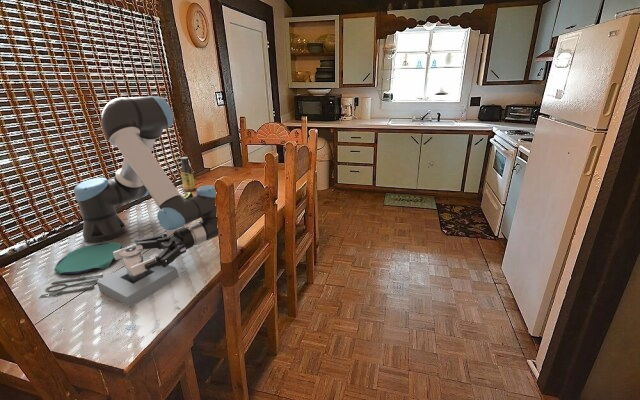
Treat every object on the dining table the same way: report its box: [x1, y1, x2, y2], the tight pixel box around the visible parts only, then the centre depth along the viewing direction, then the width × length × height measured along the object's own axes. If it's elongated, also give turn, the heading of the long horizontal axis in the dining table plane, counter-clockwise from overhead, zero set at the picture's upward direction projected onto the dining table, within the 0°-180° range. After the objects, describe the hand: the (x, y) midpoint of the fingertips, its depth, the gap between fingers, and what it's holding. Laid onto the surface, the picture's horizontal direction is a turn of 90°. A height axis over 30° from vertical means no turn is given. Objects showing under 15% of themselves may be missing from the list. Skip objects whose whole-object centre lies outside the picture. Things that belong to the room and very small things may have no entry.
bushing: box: [119, 244, 148, 284], centre depth 94 cm, size 6×6×12 cm
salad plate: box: [179, 191, 196, 200], centre depth 160 cm, size 19×18×5 cm
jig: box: [96, 255, 179, 308], centre depth 96 cm, size 16×16×4 cm
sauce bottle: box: [180, 156, 196, 192], centre depth 177 cm, size 6×6×20 cm
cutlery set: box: [38, 242, 123, 299], centre depth 105 cm, size 20×30×2 cm, turn 14°
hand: (122, 263), depth 91 cm, fingers open, 13 cm apart
